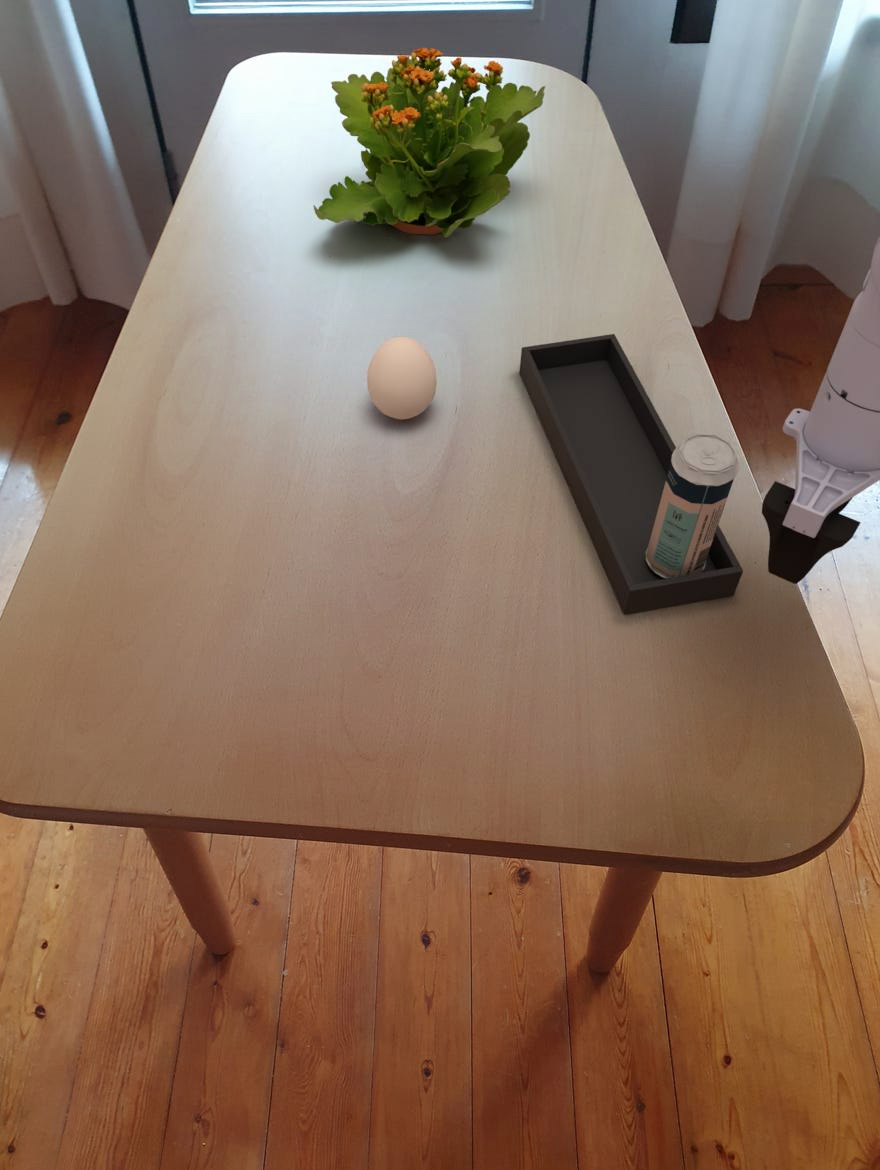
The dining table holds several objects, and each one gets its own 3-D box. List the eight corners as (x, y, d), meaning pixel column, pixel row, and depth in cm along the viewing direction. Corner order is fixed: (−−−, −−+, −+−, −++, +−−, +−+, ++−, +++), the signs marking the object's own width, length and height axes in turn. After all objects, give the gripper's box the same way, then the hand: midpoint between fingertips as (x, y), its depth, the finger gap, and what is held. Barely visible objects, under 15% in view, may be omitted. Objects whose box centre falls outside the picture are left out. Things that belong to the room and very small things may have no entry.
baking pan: (733, 595, 78) (743, 571, 76) (623, 615, 77) (630, 590, 75) (609, 359, 96) (614, 333, 93) (519, 372, 95) (521, 347, 93)
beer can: (701, 542, 81) (738, 431, 71) (706, 587, 78) (746, 477, 68) (642, 539, 81) (671, 428, 71) (645, 583, 78) (676, 473, 69)
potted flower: (343, 152, 121) (332, -7, 107) (536, 158, 119) (550, -3, 105) (313, 269, 106) (296, 103, 92) (532, 277, 104) (549, 109, 90)
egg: (392, 382, 95) (389, 311, 88) (449, 404, 92) (450, 333, 86) (355, 420, 91) (350, 349, 85) (413, 443, 89) (412, 373, 83)
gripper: (853, 296, 61) (789, 457, 72) (762, 425, 55) (707, 582, 65) (968, 333, 59) (884, 494, 70) (889, 474, 52) (809, 628, 63)
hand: (805, 539), depth 67 cm, fingers open, 7 cm apart
